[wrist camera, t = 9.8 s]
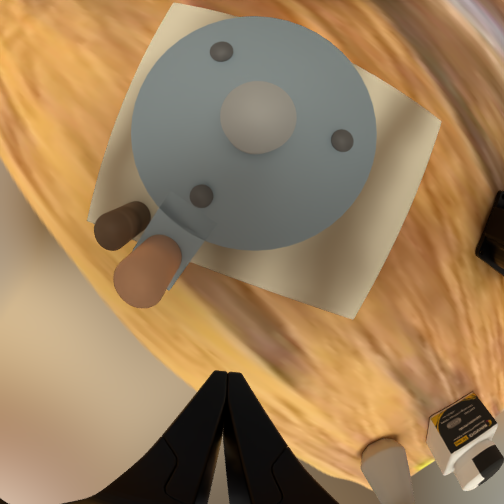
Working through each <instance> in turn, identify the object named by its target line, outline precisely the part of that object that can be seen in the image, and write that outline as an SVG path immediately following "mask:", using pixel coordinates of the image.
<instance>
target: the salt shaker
mask: <svg viewBox="0 0 504 504" xmlns="http://www.w3.org/2000/svg"><path fill="white" fill-rule="evenodd" d="M361 470H362V472H363V474H364V476H365V477H366V479H367V481H368V482H369V484H370V486H371V487H372V489H373V491H374V492H375V494H376V496H377V497H378V499H379V501H380V502H381V504H415V499H414V493H413V487H412V482H411V476H410V471H409V466H408V461H407V457H406V452H405V449H404V447H403V446H402V445H400V444H399V443H398V442H396V441H395V440H394V439H383V438H382V439H380V440H378V441H376V442H374V443H372V444H370V445H368V447H367V448H366V449H365V451H364V452H363V455H362V461H361Z"/></svg>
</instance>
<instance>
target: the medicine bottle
mask: <svg viewBox="0 0 504 504" xmlns="http://www.w3.org/2000/svg"><path fill="white" fill-rule="evenodd" d="M497 426H498V424H497V422H496V421H495V419H494V418H493V417H492V415H491V414H490V413H489V411H488V410H487V409H486V407H485V406H484V405H483V404H482V402H481V401H480V400H479V398H478V397H477V396H476V395H475V393H474V392H471V393H470V394H468V395H467V396H465V397H463V398H462V399H460V400H459V401H457V402H455V403H454V404H452V405H450V406H449V407H447V408H445V409H443V410H442V411H440V412H438V413H436V414H434V415H433V416H431V417H430V421H429V428H428V434H427V440H426V443H427V445H428V447H429V448H430V450H431V452H432V454H433V456H434V458H435V460H436V462H437V464H438V466H439V468H440V470H441V472H442V474H443V475H444V476H445V475H447V474H449V473H451V472H453V471H454V474H455V476H456V478H457V480H458V481H459V483H460V485H461V487H462V489H463V490H464V491H468V490H472V489H474V488H476V487H478V486H480V485H481V484H482V483H484V482H485V481H487V480H488V479H489V478H490V477H492V476H493V475H494V474H495V473H496V472H497V471H498V470H499V468H500V467H501V466H502V464H503V462H504V458H503V456H502V454H501V453H500V452H499V450H498V448H497V447H496V445H495V444H494V442H493V441H491V439H492V437H493V435H494V433H495V431H496V428H497Z"/></svg>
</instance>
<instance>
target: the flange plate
mask: <svg viewBox="0 0 504 504" xmlns="http://www.w3.org/2000/svg"><path fill="white" fill-rule="evenodd" d="M376 139H377V130H376V118H375V113H374V108H373V104H372V101H371V98H370V95H369V92H368V90H367V87H366V86H365V84H364V82H363V80H362V78H361V76H360V74H359V73H358V71H357V70H356V69H355V67H354V66H353V64H352V63H351V62H350V61H349V60H348V58H347V57H346V56H345V55H344V54H343V53H342V52H341V51H340V50H339V49H338V48H337V47H335V46H334V45H333V44H332V43H331V42H329V41H328V40H326V39H325V38H323V37H322V36H320V35H319V34H317V33H316V32H314V31H312V30H309V29H307V28H305V27H303V26H301V25H298V24H295V23H292V22H289V21H286V20H281V19H276V18H270V17H258V16H251V17H237V18H231V19H225V20H221V21H218V22H215V23H212V24H208V25H206V26H204V27H202V28H199V29H197V30H195V31H193V32H191V33H190V34H188V35H187V36H185V37H183V38H182V39H180V40H179V41H178V42H176V43H175V44H174V45H173V46H172V47H170V48H169V49H168V50H167V51H166V52H165V53H164V54H163V55H162V56H161V57H160V58H159V59H158V61H157V62H156V63H155V65H154V66H153V67H152V69H151V70H150V72H149V73H148V75H147V76H146V78H145V80H144V82H143V84H142V86H141V88H140V91H139V93H138V96H137V99H136V102H135V106H134V111H133V115H132V125H131V142H132V151H133V156H134V160H135V165H136V167H137V170H138V173H139V176H140V178H141V180H142V182H143V184H144V186H145V188H146V190H147V192H148V193H149V195H150V196H151V198H152V199H153V200H154V202H155V203H156V205H157V206H158V207H159V209H158V210H157V212H156V213H155V215H154V217H153V218H152V220H151V221H150V223H149V225H148V226H147V228H146V229H145V231H144V233H143V234H142V236H141V237H140V239H139V241H138V242H137V244H136V246H135V247H134V249H133V251H132V252H131V253H130V254H129V255H128V256H127V257H126V258H125V259H124V260H122V261H121V262H120V263H119V264H118V266H117V267H116V269H115V272H114V286H115V289H116V291H117V293H118V294H119V296H120V297H121V298H122V299H123V300H124V301H125V302H126V303H128V304H129V305H131V306H134V307H137V308H149V307H152V306H154V305H156V304H157V303H158V302H159V301H160V300H161V298H162V296H163V295H164V293H165V291H166V289H167V290H170V289H171V288H172V286H173V285H174V283H175V282H176V280H177V279H178V278H179V276H180V275H181V273H182V272H183V271H184V269H185V268H186V266H187V265H188V264H189V262H190V261H191V259H192V258H193V257H194V255H195V254H196V252H197V251H198V250H199V248H200V247H201V245H202V244H203V243H204V241H207V242H209V243H213V244H216V245H219V246H222V247H227V248H232V249H238V250H252V251H259V250H272V249H277V248H282V247H287V246H290V245H293V244H296V243H299V242H302V241H304V240H307V239H309V238H311V237H313V236H315V235H317V234H318V233H320V232H321V231H323V230H325V229H326V228H328V227H329V226H331V225H332V224H333V223H334V222H335V221H336V220H338V219H339V218H340V217H341V216H342V215H343V214H344V213H345V212H346V211H347V210H348V209H349V207H350V206H351V205H352V204H353V203H354V201H355V200H356V198H357V197H358V195H359V194H360V192H361V191H362V189H363V187H364V185H365V183H366V181H367V179H368V176H369V173H370V171H371V168H372V165H373V160H374V156H375V151H376Z"/></svg>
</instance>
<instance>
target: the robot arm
mask: <svg viewBox="0 0 504 504" xmlns="http://www.w3.org/2000/svg"><path fill="white" fill-rule="evenodd" d="M480 252H481V253H480ZM476 256H477V257H479V258H480V259H481V260H483V261H484V262H486V263H487V264H488V265H490V266H491V267H492V268H494V269H495V270H496V271H498V272H499V273H500V274H501V275H503V276H504V191H499V192H498V194H497V197H496V200H495V203H494V206H493V209H492V212H491V215H490V217H489V220H488V223H487V225H486V228H485V230H484V233H483V235H482V238H481V240H480V242H479V245H478V247H477V249H476ZM222 434H223V444H224V455H225V466H226V476H227V486H228V495H229V503H230V504H339V503H338V502H337V501H336V500H335V499H334V498H333V497H332V496H331V495H330V494H329V493H328V492H327V491H326V490H325V489H324V488H322V486H321V485H320V484H319V483H318V482H316V480H315V479H314V478H313V477H312V476H311V475H310V474H309V473H308V472H307V471H306V470H305V469H304V467H303V466H302V464H301V463H300V462H299V461H298V459H297V458H296V457H295V455H294V454H293V452H292V451H291V449H290V448H289V447H287V446H288V445H287V444H286V442H285V441H284V439H283V438H282V436H281V435H280V433H279V432H278V430H277V429H276V427H275V426H274V424H273V423H272V421H271V420H270V418H269V417H268V415H267V413H266V412H265V410H264V409H263V407H262V406H261V404H260V402H259V401H258V399H257V398H256V396H255V394H254V393H253V391H252V390H251V388H250V386H249V385H248V383H247V381H246V380H245V378H244V376H243V375H242V374H241V373H238V372H229V373H227V372H226V371H217V370H215V371H214V372H213V373H212V374H211V375H210V377H209V378H208V379H207V380H206V382H205V383H204V384H203V385H202V387H201V388H200V389H199V391H198V392H197V393H196V394H195V396H194V397H193V398H192V399H191V401H190V402H189V403H188V404H187V406H186V407H185V408H184V409H183V411H182V412H181V413H180V414H179V415H178V417H177V418H176V419H175V420H174V421H173V423H172V424H171V425H170V426H169V428H168V429H167V430H166V431H165V433H164V434H163V435H162V437H160V438H159V439H158V441H157V442H156V443H155V444H154V445H153V446H152V448H150V450H149V451H148V452H147V453H146V454H145V455H144V456H143V457H142V458H141V459H140V460H139V461H138V462H136V463H135V464H134V465H133V466H132V467H131V468H129V469H128V470H127V471H126V472H124V473H123V474H122V475H121V476H120V477H118V478H117V479H116V480H115V481H113V482H112V483H111V484H110V485H108V486H107V487H106V488H104V489H103V490H102V491H100V492H99V493H97V494H96V495H93V496H91V497H89V498H86V499H82V500H78V501H73V502H68V503H63V504H208V500H209V495H210V491H211V486H212V482H213V477H214V473H215V468H216V463H217V459H218V454H219V450H220V445H221V440H222ZM0 504H8V503H6V502H5V501H3V500H2V499H0Z"/></svg>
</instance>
